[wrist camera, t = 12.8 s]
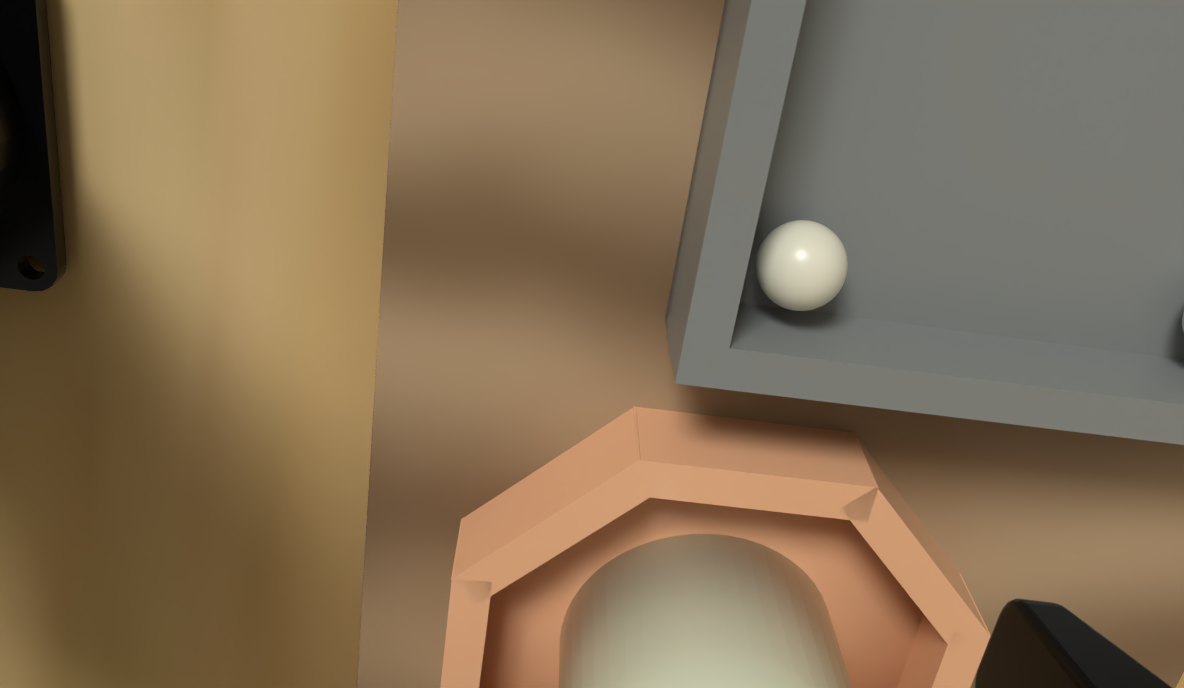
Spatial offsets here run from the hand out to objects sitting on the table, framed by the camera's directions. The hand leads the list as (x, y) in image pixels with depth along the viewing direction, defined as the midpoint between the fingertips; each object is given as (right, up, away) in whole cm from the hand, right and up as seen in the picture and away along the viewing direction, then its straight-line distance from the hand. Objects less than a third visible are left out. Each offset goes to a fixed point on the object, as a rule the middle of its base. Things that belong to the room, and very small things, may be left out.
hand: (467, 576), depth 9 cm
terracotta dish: (+3, -4, +16) cm, 17 cm away
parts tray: (+9, +7, +10) cm, 15 cm away
